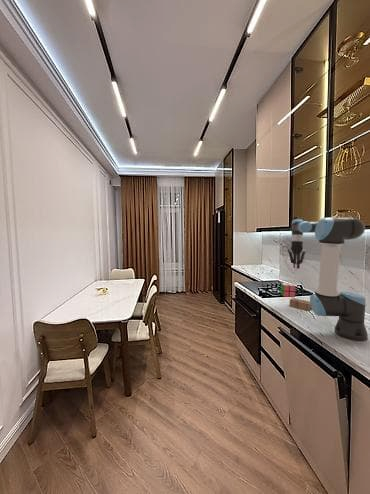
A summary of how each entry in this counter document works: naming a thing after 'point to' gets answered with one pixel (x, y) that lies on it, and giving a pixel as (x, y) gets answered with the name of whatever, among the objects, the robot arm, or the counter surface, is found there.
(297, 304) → the walnut block
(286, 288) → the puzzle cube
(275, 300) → the counter surface
